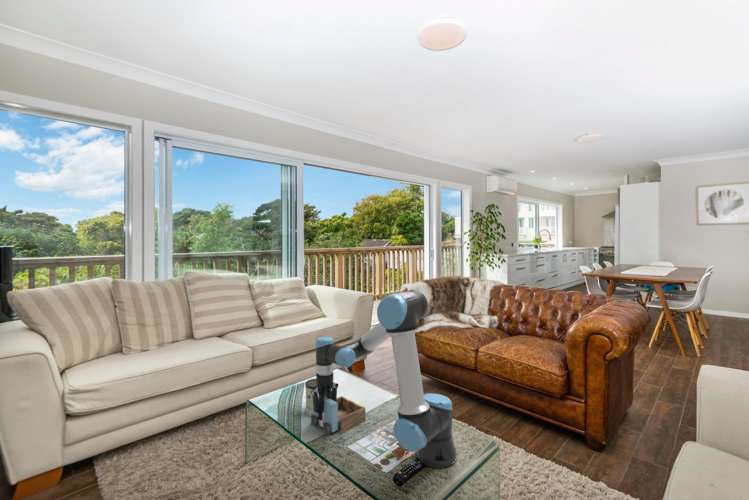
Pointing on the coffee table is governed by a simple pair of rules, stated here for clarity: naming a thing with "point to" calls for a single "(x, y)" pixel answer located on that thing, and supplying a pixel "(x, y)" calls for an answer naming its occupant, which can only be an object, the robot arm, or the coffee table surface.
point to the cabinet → (344, 416)
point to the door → (329, 413)
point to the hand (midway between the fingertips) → (325, 424)
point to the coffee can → (310, 395)
